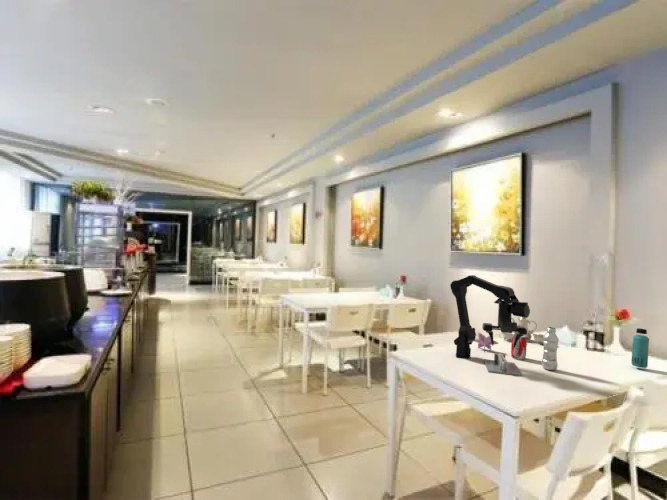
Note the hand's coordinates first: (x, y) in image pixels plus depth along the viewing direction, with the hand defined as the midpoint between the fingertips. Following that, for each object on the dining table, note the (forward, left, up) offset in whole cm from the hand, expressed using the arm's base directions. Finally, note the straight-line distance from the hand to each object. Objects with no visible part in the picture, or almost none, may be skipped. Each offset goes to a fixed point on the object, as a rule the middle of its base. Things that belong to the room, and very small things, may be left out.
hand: (503, 346), depth 181 cm
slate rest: (0, 0, -10) cm, 10 cm away
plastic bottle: (+22, +7, -10) cm, 25 cm away
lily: (-5, +30, -11) cm, 32 cm away
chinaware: (+21, +63, -11) cm, 67 cm away
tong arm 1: (-2, +1, -9) cm, 10 cm away
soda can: (+11, +21, -10) cm, 26 cm away
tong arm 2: (+1, +1, -9) cm, 10 cm away
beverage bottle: (+67, +27, -10) cm, 73 cm away
